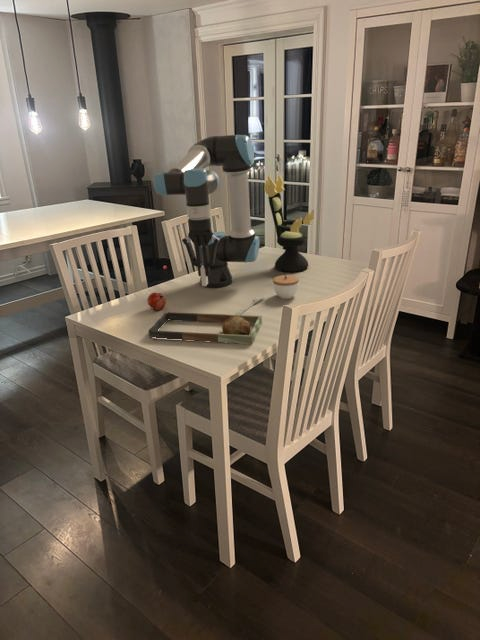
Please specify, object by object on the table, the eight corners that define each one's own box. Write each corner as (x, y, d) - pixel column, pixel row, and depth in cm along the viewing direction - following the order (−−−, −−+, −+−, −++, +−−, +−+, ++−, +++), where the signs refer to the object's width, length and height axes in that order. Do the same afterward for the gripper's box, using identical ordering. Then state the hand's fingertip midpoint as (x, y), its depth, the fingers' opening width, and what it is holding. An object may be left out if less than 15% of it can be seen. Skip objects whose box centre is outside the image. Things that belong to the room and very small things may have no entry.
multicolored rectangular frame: (166, 319, 188) (165, 312, 187) (261, 323, 180) (261, 315, 178) (148, 339, 172) (147, 331, 171) (252, 344, 164) (251, 336, 162)
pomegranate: (146, 316, 198) (157, 306, 191) (140, 300, 199) (150, 290, 192) (161, 312, 203) (172, 302, 196) (155, 297, 204) (165, 286, 197)
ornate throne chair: (302, 275, 229) (302, 177, 211) (259, 271, 238) (255, 177, 220) (314, 264, 244) (315, 172, 226) (273, 260, 253) (271, 172, 235)
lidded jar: (297, 301, 198) (297, 279, 195) (271, 300, 201) (271, 279, 197) (299, 292, 208) (299, 271, 204) (275, 291, 210) (274, 271, 206)
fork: (234, 320, 190) (233, 314, 189) (261, 298, 205) (260, 292, 203) (240, 321, 189) (239, 315, 187) (267, 299, 203) (266, 293, 202)
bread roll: (228, 348, 170) (232, 333, 165) (216, 328, 176) (218, 313, 170) (252, 341, 174) (256, 326, 169) (239, 321, 180) (243, 306, 175)
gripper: (176, 220, 157) (184, 287, 167) (214, 220, 154) (220, 288, 164) (184, 215, 164) (190, 280, 174) (220, 215, 161) (225, 281, 171)
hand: (205, 284), depth 169 cm, fingers closed
